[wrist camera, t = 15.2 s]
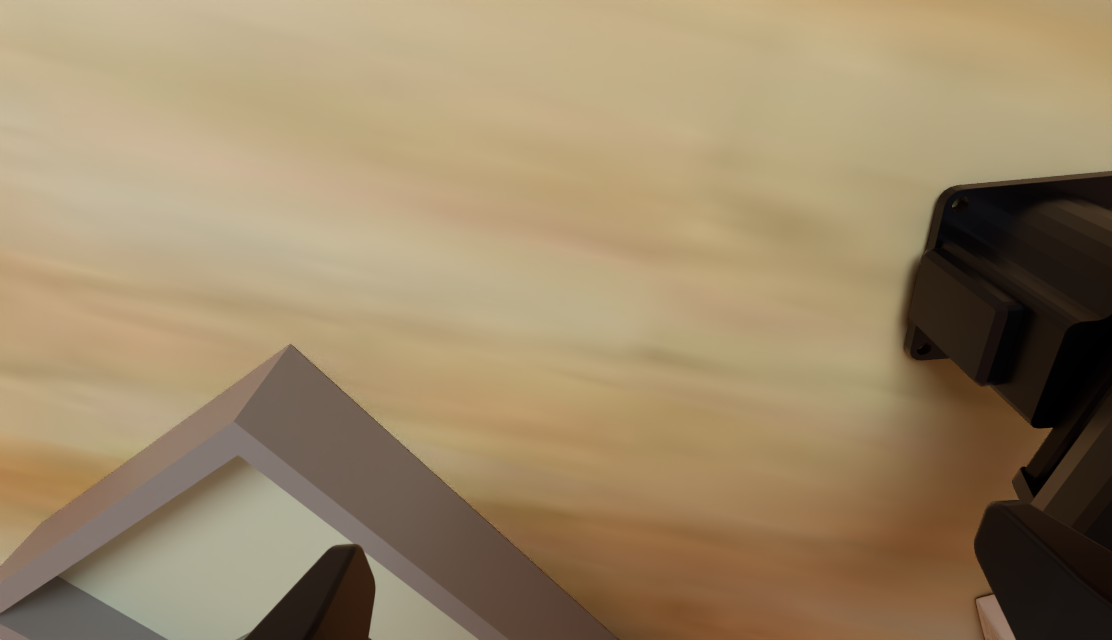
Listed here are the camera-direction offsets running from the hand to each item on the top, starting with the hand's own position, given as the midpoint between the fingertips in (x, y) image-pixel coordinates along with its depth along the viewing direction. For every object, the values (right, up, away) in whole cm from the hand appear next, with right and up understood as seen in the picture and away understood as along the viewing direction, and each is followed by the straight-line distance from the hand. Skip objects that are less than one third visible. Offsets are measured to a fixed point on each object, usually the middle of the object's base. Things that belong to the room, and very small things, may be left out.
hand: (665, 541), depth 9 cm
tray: (-11, -11, +21) cm, 26 cm away
